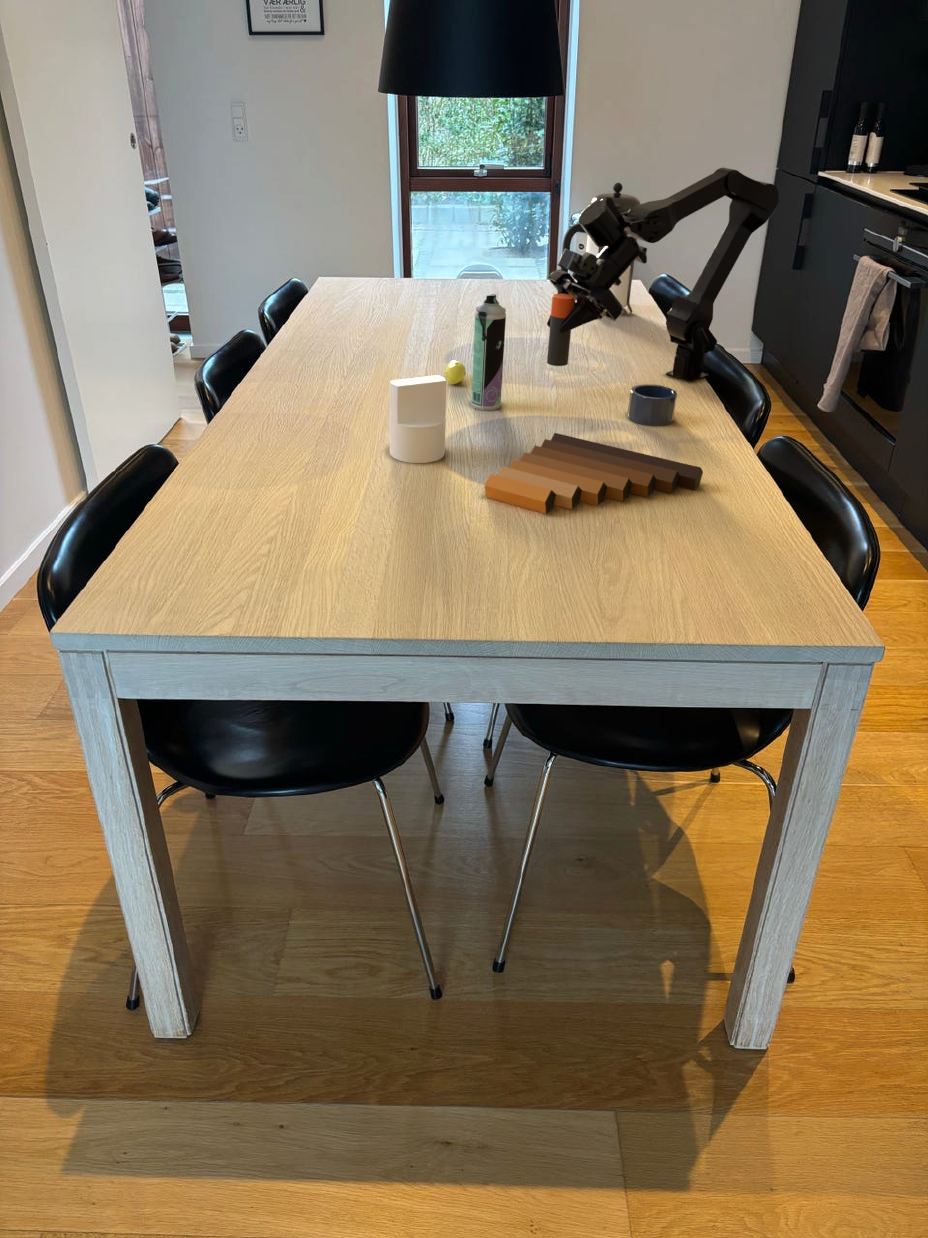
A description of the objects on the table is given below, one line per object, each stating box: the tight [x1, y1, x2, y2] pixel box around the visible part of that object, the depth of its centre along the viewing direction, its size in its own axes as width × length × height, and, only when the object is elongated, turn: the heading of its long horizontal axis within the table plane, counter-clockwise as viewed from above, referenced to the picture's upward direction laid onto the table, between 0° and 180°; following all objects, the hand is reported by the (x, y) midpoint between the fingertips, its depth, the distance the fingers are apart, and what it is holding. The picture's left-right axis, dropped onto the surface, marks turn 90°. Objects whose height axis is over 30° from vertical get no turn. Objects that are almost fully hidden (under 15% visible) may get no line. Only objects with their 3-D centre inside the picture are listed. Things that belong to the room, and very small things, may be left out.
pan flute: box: [484, 432, 704, 515], centre depth 146 cm, size 25×3×25 cm
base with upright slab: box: [389, 374, 447, 464], centre depth 155 cm, size 9×9×12 cm
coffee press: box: [559, 182, 641, 317], centre depth 237 cm, size 17×16×30 cm
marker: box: [546, 293, 574, 367], centre depth 182 cm, size 4×4×12 cm
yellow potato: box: [444, 360, 467, 385], centre depth 190 cm, size 4×8×4 cm, turn 172°
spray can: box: [470, 293, 507, 411], centre depth 174 cm, size 6×6×20 cm
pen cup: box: [627, 383, 678, 427], centre depth 175 cm, size 8×8×5 cm
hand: (554, 328), depth 181 cm, fingers closed on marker, 4 cm apart
